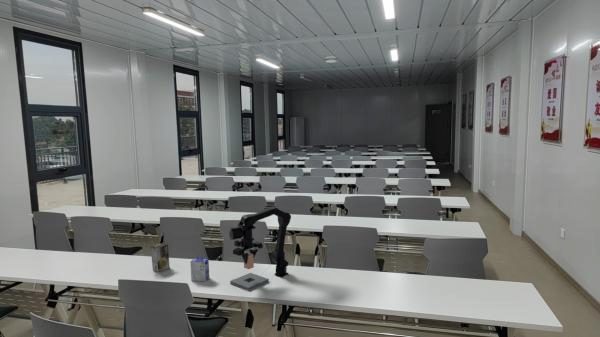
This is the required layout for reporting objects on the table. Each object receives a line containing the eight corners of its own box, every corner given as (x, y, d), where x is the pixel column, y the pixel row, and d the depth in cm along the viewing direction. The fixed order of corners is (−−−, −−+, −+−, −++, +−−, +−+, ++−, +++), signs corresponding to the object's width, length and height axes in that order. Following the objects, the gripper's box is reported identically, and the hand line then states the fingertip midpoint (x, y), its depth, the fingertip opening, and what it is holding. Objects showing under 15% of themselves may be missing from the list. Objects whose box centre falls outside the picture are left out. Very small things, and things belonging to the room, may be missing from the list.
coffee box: (164, 265, 264) (162, 242, 262) (169, 267, 260) (168, 244, 258) (152, 270, 256) (150, 246, 254) (157, 272, 253) (156, 247, 251)
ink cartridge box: (210, 278, 241) (208, 255, 239) (206, 281, 235) (204, 258, 234) (195, 277, 243) (193, 254, 241) (190, 280, 237) (189, 257, 236)
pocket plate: (250, 275, 243) (250, 272, 243) (268, 281, 232) (268, 278, 232) (230, 283, 231) (230, 280, 231) (248, 290, 220) (248, 287, 220)
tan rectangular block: (249, 265, 233) (248, 252, 232) (253, 267, 231) (253, 254, 230) (244, 267, 230) (243, 254, 229) (248, 269, 228) (248, 256, 227)
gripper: (250, 231, 241) (251, 255, 242) (226, 238, 227) (227, 264, 229) (262, 234, 233) (263, 259, 235) (238, 241, 219) (239, 268, 221)
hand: (248, 262), depth 230 cm, fingers closed on tan rectangular block, 4 cm apart
